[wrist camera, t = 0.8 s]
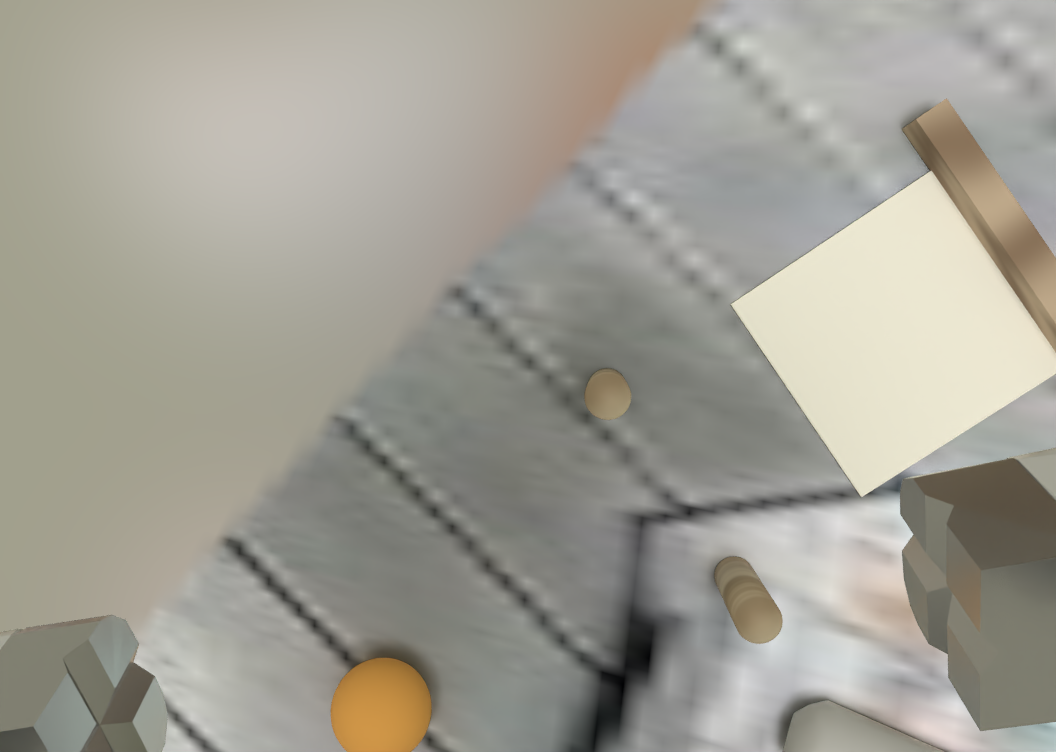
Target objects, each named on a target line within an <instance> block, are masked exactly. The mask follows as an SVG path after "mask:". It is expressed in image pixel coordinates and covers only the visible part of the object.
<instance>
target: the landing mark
mask: <svg viewBox="0 0 1056 752" xmlns="http://www.w3.org/2000/svg"><path fill="white" fill-rule="evenodd" d="M730 305H731V306H732V307H733V309H734V310H735V312H736V313H737V315H738V316H739V318H740V319H741V321H742V322H743V324H744V325H745V327H746V328H747V330H748V331H749V333H750V334H751V336H752V337H753V338H754V340H755V341H756V343H757V344H758V346H759V347H760V349H761V350H762V352H763V353H764V355H765V356H766V358H767V359H768V361H769V362H770V364H771V365H772V367H773V368H774V369H775V371H776V372H777V374H778V375H779V377H780V378H781V380H782V381H783V383H784V384H785V386H786V387H787V389H788V390H789V392H790V393H791V395H792V396H793V397H794V399H795V400H796V402H797V403H798V405H799V406H800V408H801V409H802V411H803V412H804V414H805V415H806V417H807V418H808V420H809V421H810V423H811V424H812V426H813V427H814V428H815V430H816V431H817V433H818V434H819V436H820V437H821V439H822V440H823V442H824V443H825V445H826V446H827V448H828V449H829V451H830V452H831V454H832V455H833V457H834V458H835V459H836V461H837V462H838V464H839V465H840V467H841V468H842V470H843V471H844V473H845V474H846V476H847V477H848V479H849V480H850V482H851V483H852V485H853V486H854V488H855V489H856V490H857V492H858V493H859V495H860V496H861V497H862V496H864V495H866V494H867V493H869V492H870V491H872V490H873V489H875V488H877V487H878V486H880V485H881V484H883V483H884V482H886V481H888V480H889V479H891V478H892V477H894V476H896V475H897V474H899V473H900V472H902V471H903V470H905V469H907V468H908V467H910V466H911V465H913V464H914V463H916V462H918V461H919V460H921V459H922V458H924V457H925V456H927V455H929V454H930V453H932V452H933V451H935V450H936V449H938V448H940V447H941V446H943V445H944V444H946V443H947V442H949V441H951V440H952V439H954V438H955V437H957V436H958V435H960V434H962V433H963V432H965V431H966V430H968V429H969V428H971V427H973V426H974V425H976V424H977V423H979V422H980V421H982V420H984V419H985V418H987V417H988V416H990V415H992V414H993V413H995V412H996V411H998V410H999V409H1001V408H1003V407H1004V406H1006V405H1007V404H1009V403H1010V402H1012V401H1014V400H1015V399H1017V398H1018V397H1020V396H1021V395H1023V394H1025V393H1026V392H1028V391H1029V390H1031V389H1032V388H1034V387H1036V386H1037V385H1039V384H1040V383H1042V382H1043V381H1045V380H1047V379H1048V378H1050V377H1051V376H1053V375H1054V374H1056V352H1055V351H1054V349H1053V348H1052V346H1051V345H1050V343H1049V342H1048V340H1047V339H1046V337H1045V336H1044V334H1043V333H1042V332H1041V330H1040V329H1039V327H1038V326H1037V324H1036V323H1035V321H1034V320H1033V318H1032V317H1031V315H1030V314H1029V312H1028V311H1027V310H1026V308H1025V307H1024V305H1023V304H1022V302H1021V301H1020V299H1019V298H1018V296H1017V295H1016V293H1015V292H1014V291H1013V289H1012V288H1011V286H1010V285H1009V283H1008V282H1007V280H1006V279H1005V277H1004V276H1003V274H1002V273H1001V271H1000V270H999V269H998V267H997V266H996V264H995V263H994V261H993V260H992V258H991V257H990V255H989V254H988V252H987V251H986V249H985V248H984V247H983V245H982V244H981V242H980V241H979V239H978V238H977V236H976V235H975V233H974V232H973V230H972V229H971V228H970V226H969V225H968V223H967V222H966V220H965V219H964V217H963V216H962V214H961V213H960V211H959V210H958V208H957V207H956V206H955V204H954V203H953V201H952V200H951V198H950V197H949V195H948V194H947V192H946V191H945V189H944V188H943V187H942V185H941V184H940V182H939V181H938V179H937V178H936V176H935V175H934V173H933V172H932V170H931V171H930V172H928V173H927V174H925V175H924V176H922V177H921V178H919V179H918V180H916V181H915V182H913V183H912V184H910V185H909V186H907V187H906V188H904V189H903V190H901V191H900V192H898V193H897V194H895V195H894V196H892V197H891V198H889V199H888V200H886V201H885V202H883V203H882V204H880V205H879V206H877V207H876V208H874V209H873V210H871V211H870V212H868V213H867V214H865V215H864V216H862V217H861V218H859V219H858V220H856V221H855V222H853V223H852V224H850V225H849V226H847V227H846V228H844V229H843V230H841V231H840V232H838V233H837V234H835V235H834V236H832V237H831V238H829V239H828V240H826V241H825V242H823V243H822V244H820V245H819V246H817V247H816V248H814V249H813V250H811V251H810V252H808V253H807V254H805V255H804V256H802V257H801V258H799V259H798V260H796V261H795V262H793V263H792V264H790V265H789V266H787V267H786V268H784V269H783V270H781V271H780V272H778V273H777V274H775V275H774V276H772V277H771V278H769V279H768V280H766V281H765V282H763V283H762V284H760V285H759V286H757V287H756V288H754V289H753V290H751V291H750V292H748V293H747V294H745V295H744V296H742V297H741V298H739V299H738V300H736V301H735V302H733V303H732V304H730Z"/></svg>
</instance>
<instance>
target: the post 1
mask: <svg viewBox="0 0 1056 752" xmlns="http://www.w3.org/2000/svg"><path fill="white" fill-rule="evenodd" d="M630 402H631V392H630V389H629V386H628V384H627V382H626V381H625V379H624V377H623V376H622V374H621V373H619V372H618V371H616V370H614V369H610V368H604V369H600V370H598V371H596V372H595V373H594V374H593V375H592V376H591V378H590V379H589V382H588V384H587V387H586V390H585V403H586V406H587V408H588V410H589V411H590V412H591V413H592V414H593V415H594V416H596V417H598V418H600V419H604V420H612V419H616V418H618V417H620V416H621V415H623V414H624V413H625V412H626V410H627V409H628V407H629V405H630Z"/></svg>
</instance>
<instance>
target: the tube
mask: <svg viewBox="0 0 1056 752" xmlns="http://www.w3.org/2000/svg"><path fill="white" fill-rule="evenodd" d="M783 752H944V751H942V750H940V749H938V748H935V747H933V746H931V745H929V744H926V743H924V742H922V741H919V740H917V739H915V738H913V737H910V736H908V735H906V734H904V733H901V732H899V731H897V730H894V729H892V728H890V727H888V726H885V725H883V724H881V723H879V722H876V721H874V720H872V719H869V718H867V717H865V716H863V715H860V714H858V713H856V712H854V711H851V710H849V709H847V708H844V707H842V706H840V705H838V704H835V703H833V702H831V701H829V700H826V701H822V702H817V703H813V704H809V705H807V706H805V707H803V708H802V709H800V710H798V711H796V712H794V714H793V717H792V720H791V724H790V727H789V730H788V734H787V738H786V741H785V745H784V749H783Z"/></svg>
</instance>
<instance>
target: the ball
mask: <svg viewBox="0 0 1056 752" xmlns="http://www.w3.org/2000/svg"><path fill="white" fill-rule="evenodd" d="M430 719H431V697H430V693H429V690H428V687H427V685H426V683H425V681H424V680H423V678H422V677H421V675H420V674H419V673H418V672H417V671H416V670H415V669H414V668H413V667H411V666H410V665H408V664H407V663H405V662H402V661H400V660H397V659H393V658H375V659H371V660H367V661H365V662H363V663H361V664H359V665H357V666H355V667H354V668H353V669H351V670H350V671H349V672H348V673H347V674H346V675H345V676H344V678H343V679H342V680H341V682H340V683H339V685H338V687H337V689H336V691H335V693H334V696H333V700H332V704H331V722H332V727H333V731H334V733H335V736H336V738H337V739H338V741H339V743H340V744H341V745H342V747H343V748H344V749H345V750H346V751H347V752H411V751H412V750H413V749H414V748H415V747H416V746H417V745H418V744H419V743H420V741H421V740H422V738H423V737H424V735H425V733H426V731H427V729H428V726H429V722H430Z"/></svg>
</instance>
